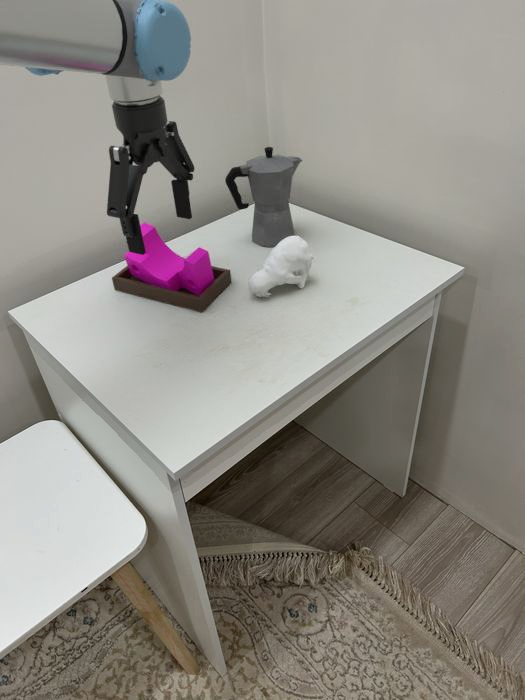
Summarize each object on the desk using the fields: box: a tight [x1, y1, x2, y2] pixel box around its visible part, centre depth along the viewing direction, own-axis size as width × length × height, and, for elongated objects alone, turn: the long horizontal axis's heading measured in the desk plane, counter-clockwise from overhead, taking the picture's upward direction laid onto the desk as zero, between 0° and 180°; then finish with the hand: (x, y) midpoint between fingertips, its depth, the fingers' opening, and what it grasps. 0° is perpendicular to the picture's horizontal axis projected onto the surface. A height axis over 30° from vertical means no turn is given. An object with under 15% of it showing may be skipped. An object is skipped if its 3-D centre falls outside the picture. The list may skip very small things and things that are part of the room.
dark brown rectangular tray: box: [111, 265, 232, 313], centre depth 97 cm, size 19×10×3 cm, turn 63°
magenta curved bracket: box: [123, 221, 215, 296], centre depth 94 cm, size 15×6×8 cm, turn 53°
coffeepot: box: [224, 146, 303, 248], centre depth 104 cm, size 15×9×18 cm, turn 113°
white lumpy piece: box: [248, 235, 314, 298], centre depth 93 cm, size 6×8×12 cm
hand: (162, 234), depth 91 cm, fingers open, 13 cm apart
